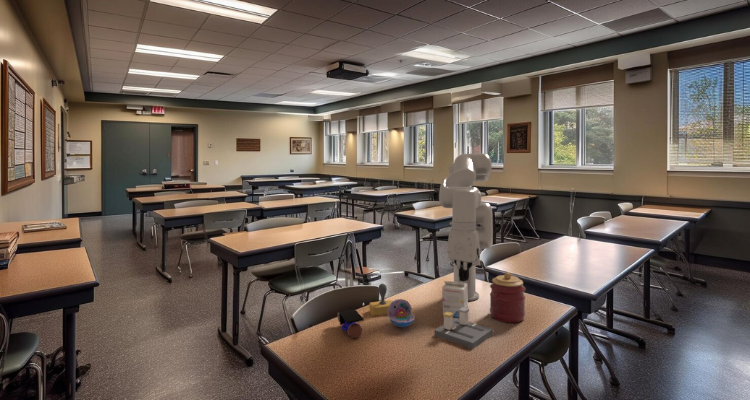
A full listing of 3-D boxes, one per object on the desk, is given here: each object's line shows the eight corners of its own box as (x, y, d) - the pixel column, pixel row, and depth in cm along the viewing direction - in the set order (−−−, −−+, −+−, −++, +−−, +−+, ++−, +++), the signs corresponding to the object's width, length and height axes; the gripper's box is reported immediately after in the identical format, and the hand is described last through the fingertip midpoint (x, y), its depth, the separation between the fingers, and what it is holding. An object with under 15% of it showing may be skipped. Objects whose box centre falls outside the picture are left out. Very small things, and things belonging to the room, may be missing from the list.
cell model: (395, 334, 137) (394, 308, 136) (383, 321, 149) (383, 297, 148) (420, 330, 140) (420, 304, 139) (407, 317, 152) (407, 293, 151)
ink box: (468, 310, 157) (468, 278, 155) (464, 318, 149) (464, 285, 148) (447, 308, 160) (447, 276, 159) (442, 315, 153) (442, 282, 152)
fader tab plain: (458, 323, 139) (458, 309, 139) (462, 321, 141) (462, 307, 140) (465, 325, 137) (465, 311, 137) (468, 323, 139) (468, 308, 139)
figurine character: (336, 329, 146) (347, 342, 132) (335, 309, 146) (346, 319, 132) (353, 326, 148) (366, 338, 134) (352, 306, 148) (365, 316, 134)
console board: (434, 335, 136) (434, 329, 135) (455, 322, 146) (455, 317, 145) (473, 349, 125) (473, 342, 125) (492, 334, 135) (493, 328, 135)
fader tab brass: (443, 328, 135) (443, 313, 135) (447, 325, 137) (447, 311, 137) (449, 330, 134) (449, 315, 133) (453, 327, 135) (453, 313, 135)
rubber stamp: (392, 308, 162) (392, 280, 160) (396, 313, 156) (396, 284, 155) (369, 311, 159) (368, 282, 158) (372, 316, 154) (372, 287, 152)
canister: (482, 314, 153) (483, 270, 151) (506, 307, 159) (506, 266, 157) (507, 326, 142) (508, 279, 140) (532, 318, 148) (533, 273, 146)
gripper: (438, 225, 130) (438, 278, 132) (478, 230, 120) (478, 287, 122) (450, 222, 136) (450, 273, 138) (490, 227, 125) (489, 282, 127)
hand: (463, 280), depth 130 cm, fingers closed
